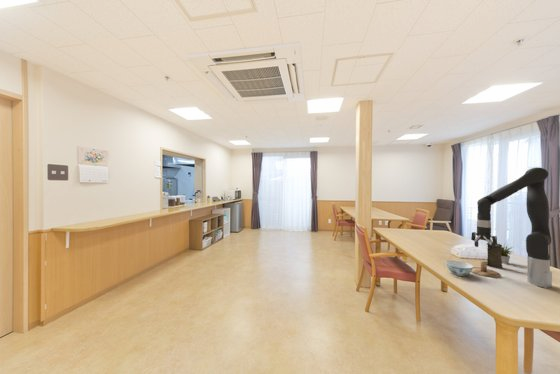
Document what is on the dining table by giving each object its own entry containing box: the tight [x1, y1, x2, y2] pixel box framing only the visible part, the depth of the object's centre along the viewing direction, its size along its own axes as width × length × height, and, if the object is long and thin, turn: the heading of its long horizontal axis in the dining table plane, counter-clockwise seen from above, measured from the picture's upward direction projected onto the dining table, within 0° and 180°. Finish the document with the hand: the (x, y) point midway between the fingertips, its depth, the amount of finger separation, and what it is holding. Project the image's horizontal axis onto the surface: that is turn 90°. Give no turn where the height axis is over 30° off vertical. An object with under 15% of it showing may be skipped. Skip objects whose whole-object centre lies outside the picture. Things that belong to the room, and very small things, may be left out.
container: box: [486, 242, 503, 270], centre depth 167 cm, size 9×9×18 cm
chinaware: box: [445, 259, 474, 277], centre depth 153 cm, size 15×15×8 cm
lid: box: [471, 260, 501, 279], centre depth 155 cm, size 17×17×8 cm
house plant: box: [501, 243, 513, 265], centre depth 177 cm, size 14×14×16 cm
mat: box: [469, 272, 506, 280], centre depth 155 cm, size 17×17×1 cm
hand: (483, 248), depth 155 cm, fingers open, 8 cm apart
